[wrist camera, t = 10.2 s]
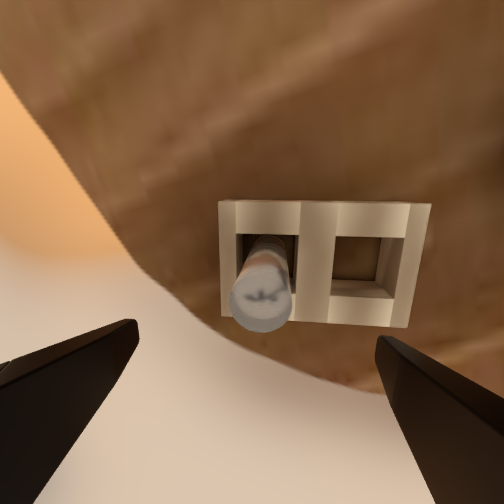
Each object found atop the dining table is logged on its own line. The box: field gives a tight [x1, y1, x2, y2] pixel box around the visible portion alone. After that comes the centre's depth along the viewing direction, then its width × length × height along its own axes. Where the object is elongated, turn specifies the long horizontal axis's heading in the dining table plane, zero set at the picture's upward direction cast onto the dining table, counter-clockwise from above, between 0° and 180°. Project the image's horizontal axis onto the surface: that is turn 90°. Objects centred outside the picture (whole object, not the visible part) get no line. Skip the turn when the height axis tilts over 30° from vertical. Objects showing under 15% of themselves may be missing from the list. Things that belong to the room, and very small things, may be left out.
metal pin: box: [229, 235, 292, 333], centre depth 16 cm, size 3×3×10 cm
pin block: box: [218, 200, 431, 328], centre depth 19 cm, size 14×9×4 cm, turn 90°
